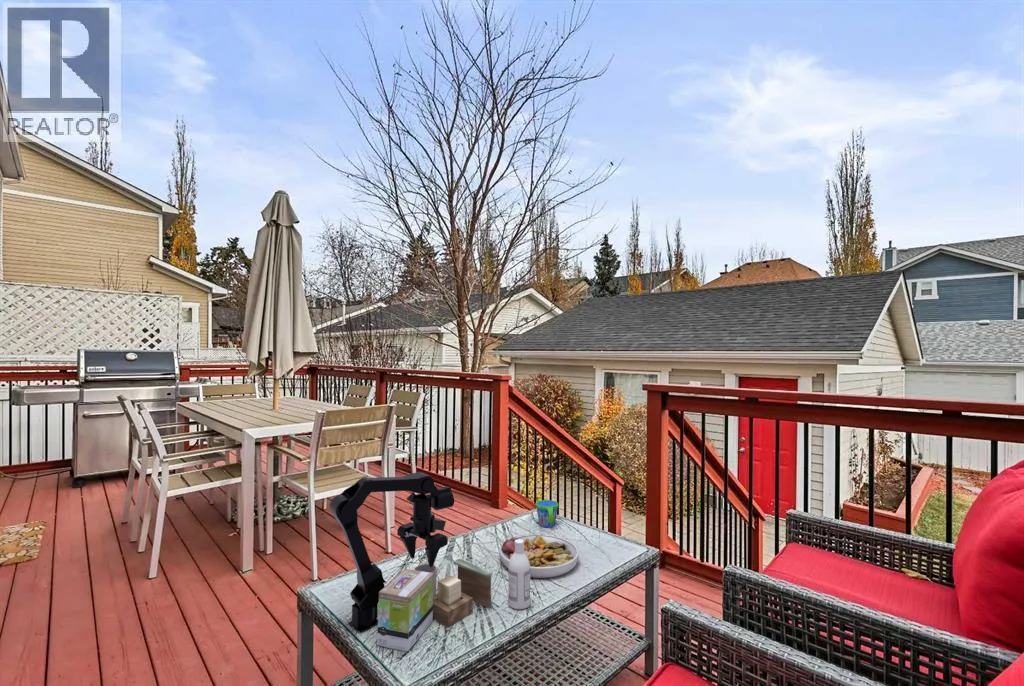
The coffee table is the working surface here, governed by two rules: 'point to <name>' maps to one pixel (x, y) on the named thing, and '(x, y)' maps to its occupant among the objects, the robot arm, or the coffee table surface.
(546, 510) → the snack cup
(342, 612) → the coffee table surface
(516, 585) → the bath foam
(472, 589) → the socket block
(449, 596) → the peg
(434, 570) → the cup
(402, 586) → the tea box
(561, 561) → the bowl
